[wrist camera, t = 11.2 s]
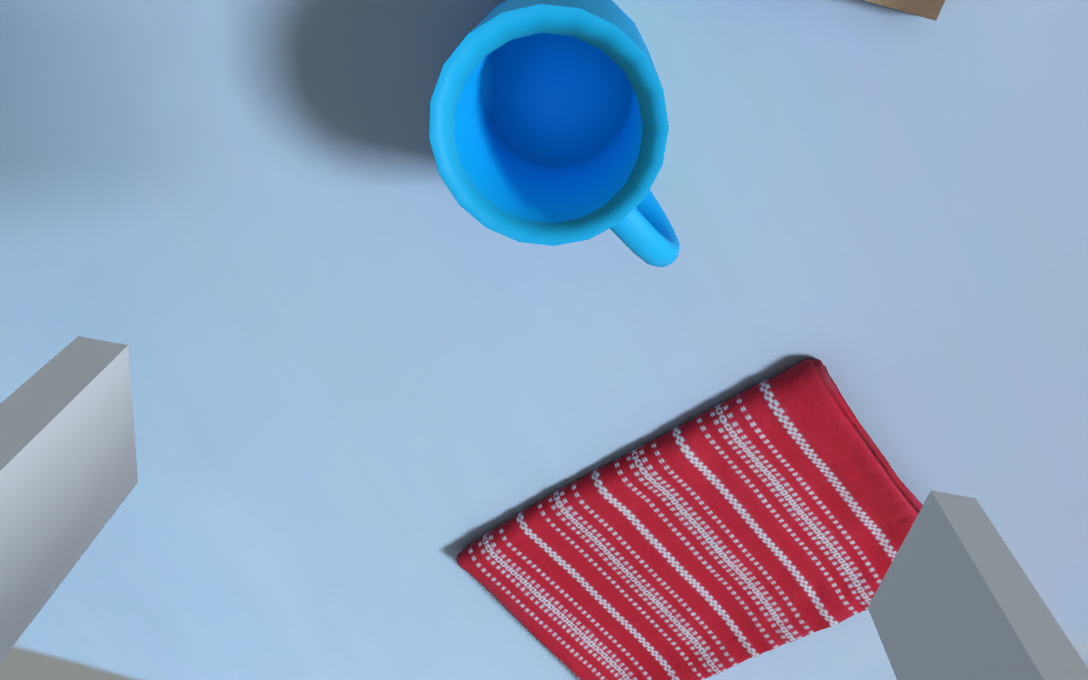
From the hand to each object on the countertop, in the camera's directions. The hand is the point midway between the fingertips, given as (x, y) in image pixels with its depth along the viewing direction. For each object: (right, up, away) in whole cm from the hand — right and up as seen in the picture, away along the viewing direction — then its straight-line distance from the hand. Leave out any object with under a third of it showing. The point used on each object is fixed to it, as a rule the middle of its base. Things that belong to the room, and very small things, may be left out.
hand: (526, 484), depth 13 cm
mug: (+2, +12, +22) cm, 25 cm away
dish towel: (+10, -9, +34) cm, 36 cm away
